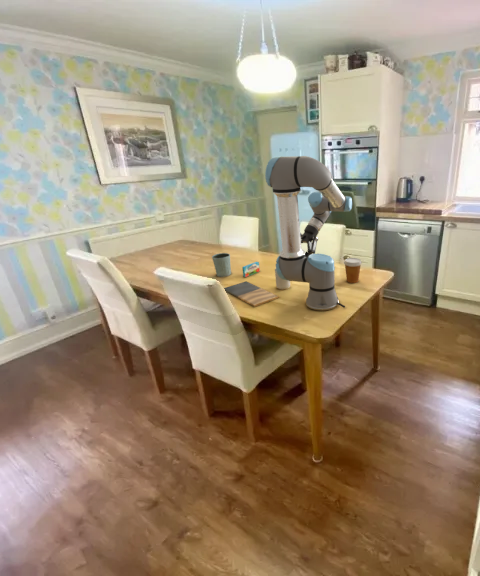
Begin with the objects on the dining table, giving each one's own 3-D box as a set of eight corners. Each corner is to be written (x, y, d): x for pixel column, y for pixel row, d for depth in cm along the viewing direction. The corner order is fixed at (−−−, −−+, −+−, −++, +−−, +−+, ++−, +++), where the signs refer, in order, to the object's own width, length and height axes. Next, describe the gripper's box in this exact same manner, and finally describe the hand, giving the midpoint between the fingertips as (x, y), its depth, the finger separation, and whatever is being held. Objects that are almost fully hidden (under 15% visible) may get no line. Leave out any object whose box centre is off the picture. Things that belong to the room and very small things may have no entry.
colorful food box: (258, 271, 196) (257, 261, 194) (259, 271, 195) (258, 261, 193) (243, 276, 187) (242, 266, 185) (245, 277, 186) (243, 267, 184)
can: (288, 290, 166) (286, 268, 162) (274, 289, 168) (272, 268, 163) (292, 285, 173) (290, 264, 168) (278, 284, 174) (277, 263, 170)
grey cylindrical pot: (234, 271, 196) (232, 253, 191) (228, 277, 187) (226, 258, 182) (219, 271, 197) (216, 253, 192) (212, 277, 188) (209, 258, 183)
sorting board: (278, 297, 158) (278, 296, 158) (254, 307, 149) (254, 305, 149) (246, 282, 178) (246, 281, 178) (223, 290, 169) (223, 288, 169)
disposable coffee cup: (364, 280, 176) (365, 259, 172) (354, 285, 170) (354, 264, 166) (351, 276, 183) (351, 256, 178) (340, 281, 176) (340, 260, 172)
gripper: (333, 235, 168) (313, 269, 165) (302, 229, 185) (283, 259, 182) (325, 227, 163) (305, 261, 159) (294, 221, 180) (275, 252, 176)
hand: (293, 260), depth 170 cm, fingers open, 13 cm apart
